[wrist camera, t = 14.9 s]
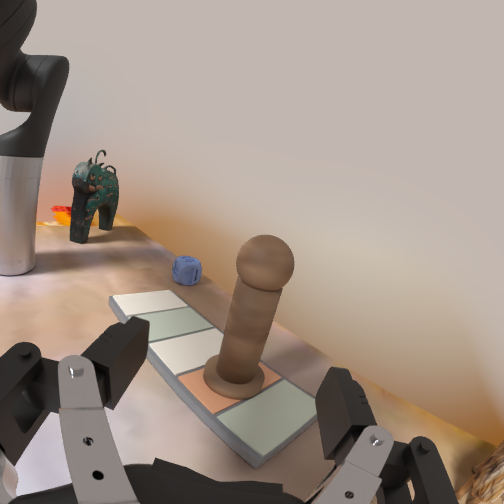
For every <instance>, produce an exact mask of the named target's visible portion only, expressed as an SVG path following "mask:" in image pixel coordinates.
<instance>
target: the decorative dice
mask: <svg viewBox="0 0 504 504" xmlns="http://www.w3.org/2000/svg"><path fill="white" fill-rule="evenodd" d="M201 271H202V268H201V263H200V261H199V260H198V259H196V258H193V257H190V256H179V257H178V258H176V259H175V261H174V263H173V269H172V273H173V279H174V280H175V281H176V282H177V283H179V284H182V285H194V284H196V283H197V282H198V281H199V280H200V278H201V273H202V272H201Z"/></svg>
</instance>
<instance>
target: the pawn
mask: <svg viewBox="0 0 504 504" xmlns="http://www.w3.org/2000/svg"><path fill="white" fill-rule="evenodd" d="M236 266H237V272H238V275H239V276H238V278H237V282H236V286H235V290H234V294H233V298H232V302H231V306H230V311H229V315H228V319H227V323H226V327H225V331H224V335H223V340H222V344H221V348H220V352H219V354H218V355H215V356H212V357H211V358H209V359H208V360H207V362H206V364H205V368H204V373H203V378H204V381H205V383H206V385H207V386H208V387H209V388H210V389H211V390H212V391H213V392H215V393H216V394H218V395H220V396H223V397H225V398H229V399H235V400H245V399H249V398H252V397H254V396H256V395H257V394H258V393H259V392H260V391H261V388H262V386H263V383H264V380H265V375H264V372H263V370H262V369H261V367H260V366H259V365H258V364H259V361H260V358H261V355H262V352H263V349H264V346H265V343H266V340H267V337H268V334H269V331H270V328H271V325H272V321H273V318H274V315H275V312H276V309H277V305H278V302H279V299H280V296H281V292H282V287H283V286H284V285H286V284H287V282H288V281H289V280H290V278H291V276H292V274H293V270H294V257H293V254H292V251H291V249H290V248H289V246H288V245H287V244H286V243H285V242H284V241H283V240H281V239H279V238H277V237H275V236H271V235H259V236H256V237H253V238H251V239H250V240H248V241H247V242H246V243H245V244H244V245H243V246H242V247H241V249H240V251H239V253H238V256H237V261H236Z"/></svg>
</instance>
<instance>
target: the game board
mask: <svg viewBox="0 0 504 504" xmlns="http://www.w3.org/2000/svg"><path fill="white" fill-rule="evenodd" d="M109 306H110V307H111V309H112V310H113V312H114V313H115V315H116V316H117V318H118V319H119V321H120V322H121V323H123V324H125V323H126V322H127V321H128V320H129V319H130V318H131V317H132V316H136V317H139V318H142V319H145V320H148V321H149V322H150V329H149V342H148V352H147V356H146V358H147V359H148V360H149V361H150V363H151V364H152V365H153V366H154V368H155V369H156V370H157V371H158V373H159V374H160V375H161V376H162V377H163V379H164V380H165V381H166V382H167V383H168V384H169V386H170V387H171V388H172V389H173V390H174V391H175V392H176V394H177V395H178V396H179V397H180V398H181V399H182V400H183V401H184V402H185V403H186V405H187V406H188V407H189V408H190V409H191V410H192V411H193V412H194V413H195V414H196V415H197V416H198V417H199V418H200V419H201V420H202V421H203V422H204V423H205V424H206V425H207V426H208V427H209V428H210V429H211V430H212V431H213V432H214V433H215V434H216V435H217V436H218V437H219V438H220V439H221V440H223V441H224V442H225V443H226V444H227V445H228V446H229V447H230V448H231V449H232V450H234V451H235V452H236V453H237V454H238V455H239V456H240V457H242V458H243V459H244V460H245V461H246V462H248V463H249V464H250V465H251V466H252V467H254V468H255V469H257V468H258V467H260V466H261V465H262V464H264V463H265V462H267V461H268V460H269V459H271V458H272V457H273V456H274V455H276V454H277V453H278V452H280V451H281V450H282V449H283V448H285V447H286V446H287V445H288V444H289V443H291V442H292V441H293V440H294V439H295V438H297V437H298V436H299V435H300V434H301V433H302V432H304V431H305V430H306V429H307V428H308V427H309V426H310V425H311V424H313V423H314V422H315V421H316V420H317V419H318V417H317V411H316V405H315V397H313V396H312V395H310V394H309V393H307V392H306V391H304V390H303V389H301V388H300V387H298V386H297V385H295V384H294V383H292V382H291V381H289V380H288V379H286V378H285V377H283V376H282V375H280V374H279V373H277V372H276V371H275V370H273V369H272V368H270V367H269V366H267V365H266V364H265V363H263V362H262V361H259V364H258V365H259V366H260V367H261V369H262V370H263V372H264V375H265V380H264V383H263V386H262V388H261V391H260V392H259V393H258V394H257V395H256V396H254V397H252V398H249V399H245V400H235V399H229V398H225V397H223V396H220V395H218V394H216V393H215V392H213V391H212V390H211V389H210V388H209V387H208V386H207V385H206V383H205V381H204V378H203V373H204V368H205V364H206V362H207V360H208V359H209V358H211V357H212V356H215V355H218V354H219V352H220V348H221V344H222V340H223V335H224V333H223V332H222V331H221V330H219V329H218V328H217V327H215V326H214V325H213V324H212V323H210V322H209V321H208V320H207V319H205V318H204V317H203V316H202V315H201V314H199V313H198V312H197V311H196V310H194V309H193V308H192V307H191V306H190V305H188V304H187V303H186V302H185V301H184V300H183V299H181V298H180V297H179V296H178V295H177V294H175V293H174V292H173V291H172V290H163V291H154V292H144V293H134V294H124V295H114V296H109Z"/></svg>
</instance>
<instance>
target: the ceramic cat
mask: <svg viewBox="0 0 504 504" xmlns="http://www.w3.org/2000/svg"><path fill="white" fill-rule="evenodd" d="M100 152H103V153H104V156H106V151H105V150H100V151H99V152H98V153H97V156H96V159H95V164H93V163H92V158H90V160H89V161H88V162H81V163H79V164H78V165H77V166H76V168H75V170H74V174H73V178H72V185H73V188H74V197H73V203H72V208H71V223H70V241H73V242H76V243H80V244H82V243H84V242H87V240H88V235H89V230H90V225H91V222H92V220H93V216H94V214H95V212H96V210H97V209H98V211H99V229H102V230H111V229H112V226H113V221H114V217H115V214H116V210H117V205H118V198H119V185H118V179H117V177H116V169H115V168H114V167H113V166H110V165H109V166H106V167H104V168H101V166H102V165H103V164H104V163H99V164H96V163H97V157H98V155H99V153H100ZM108 167H111V168H112V169H114V173H112V172H110V171H108V170H107V168H108Z"/></svg>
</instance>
